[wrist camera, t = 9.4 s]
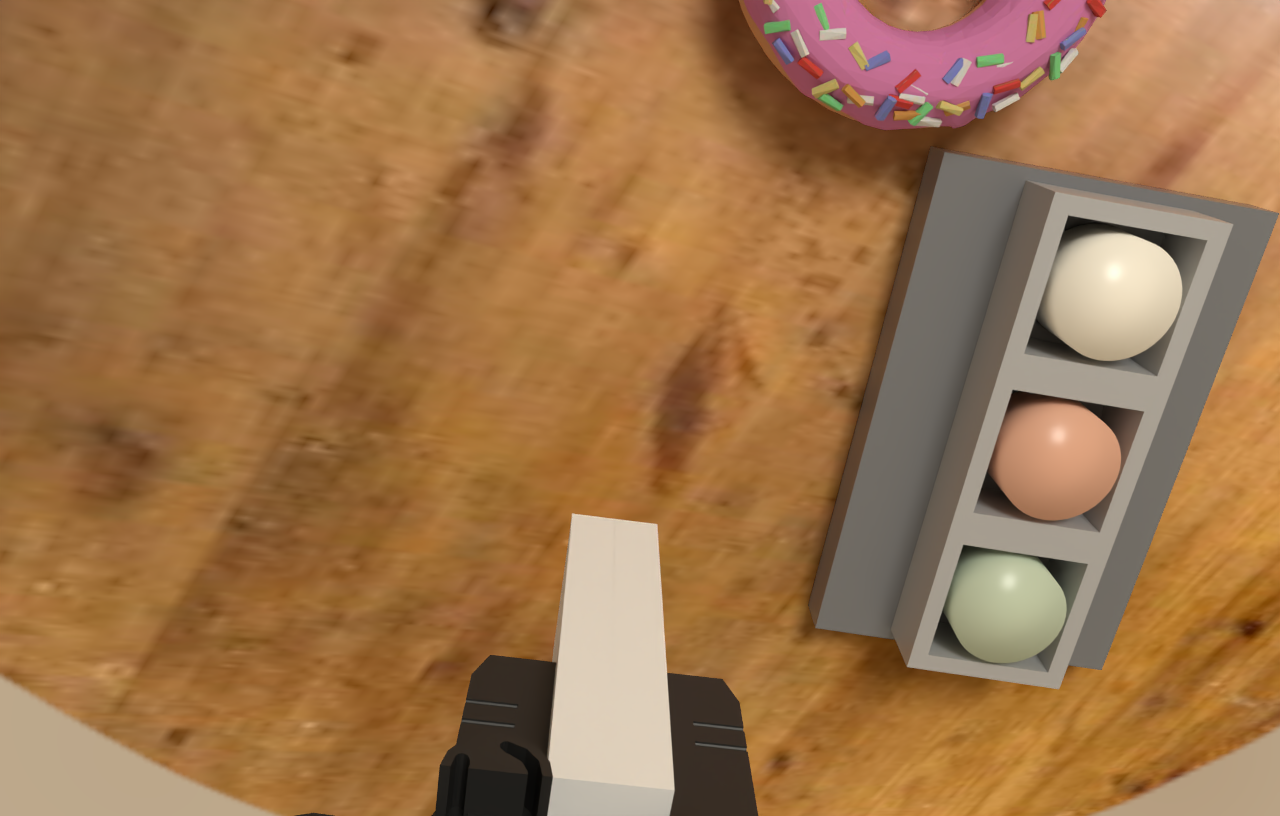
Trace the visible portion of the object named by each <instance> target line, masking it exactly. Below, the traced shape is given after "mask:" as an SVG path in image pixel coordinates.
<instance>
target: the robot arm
mask: <svg viewBox="0 0 1280 816" xmlns="http://www.w3.org/2000/svg"><path fill="white" fill-rule="evenodd" d="M746 748H747V745H746V739H745V733H744V732H743V721H742V715H741V709H740V703H739V701H738V700H737V698H736V697H735V696H734V694H733V693H732V692H731V690H730V689H729V687H728V686H727V685H726V683H725V682H724V681H723V679H717V678H708V677H699V676H690V675H682V674H673V673H667V666H666V651H665V636H664V621H663V605H662V590H661V575H660V560H659V545H658V529H657V524H651V523H643V522H635V521H627V520H619V519H611V518H603V517H595V516H587V515H579V514H572V520H571V527H570V534H569V542H568V549H567V556H566V563H565V570H564V578H563V585H562V592H561V599H560V606H559V614H558V621H557V628H556V635H555V642H554V651H553V661H552V662H548V661H539V660H530V659H521V658H513V657H504V656H495V655H490V656H489V657H488V658H487V659H486V660H485V661H484V662H483V663H482V664H481V665H480V666H479V667H478V668H477V669H476V670H475V671H474V673H473V674H472V675H471V680H470V684H469V689H468V693H467V698H466V703H465V707H464V711H463V716H462V722H461V725H460V729H459V734H458V738H457V743H456V745H455V746H454V747H452V748H451V749H450V750H448V751H447V753H446V755H445V757H444V759H443V760H442V762H441V764H440V770H439V780H438V791H437V801H436V811H435V812H434V813H433V815H432V816H758V812H757V806H756V800H755V794H754V788H753V782H752V775H751V769H750V763H749V757H748V752H746ZM296 816H333V815H325V814H318V813H309V814H303V815H296Z"/></svg>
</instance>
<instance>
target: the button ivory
mask: <svg viewBox="0 0 1280 816" xmlns="http://www.w3.org/2000/svg"><path fill="white" fill-rule="evenodd" d="M1181 299H1182V280H1181V276H1180V272H1179V270H1178V268H1177V265H1176V264H1175V262H1174V260H1173V259H1172V258H1171V256H1170V255H1169V254H1168V253H1167V252H1166V251H1164V250H1163V249H1162V248H1161V247H1159V246H1157V245H1156V244H1153V243H1151V242H1149V241H1146V240H1144V239H1142V238H1139V237H1137V236H1134V235H1132V234H1130V233H1127V232H1125V231H1123V230H1120V229H1118V228H1115V227H1113V226H1109V225H1105V224H1085V225H1080V226H1077V227H1073V228H1071V229H1069V230H1066V231H1064V232H1063V233H1062V237H1061V240H1060V243H1059V246H1058V249H1057V252H1056V255H1055V259H1054V262H1053V265H1052V268H1051V271H1050V274H1049V277H1048V281H1047V284H1046V287H1045V290H1044V293H1043V296H1042V299H1041V302H1040V306H1039V309H1038V312H1037V315H1036V319H1037V321H1038V322H1039V323H1040V324H1041V325H1042V326H1043V327H1044V328H1046V329H1047V330H1048V331H1049V332H1051V333H1052V334H1054V335H1055V336H1056V337H1058V338H1059V339H1060V340H1062V341H1063V342H1064V343H1066V344H1067V345H1069V346H1070V347H1071V348H1073V349H1074V350H1075V351H1077V352H1078V353H1080V354H1082V355H1084V356H1086V357H1089V358H1092V359H1096V360H1103V361H1115V360H1122V359H1126V358H1130V357H1132V356H1135V355H1137V354H1139V353H1141V352H1143V351H1145V350H1147V349H1148V348H1150V347H1151V346H1153V345H1154V344H1155V343H1156V342H1157V341H1158V340H1160V339H1161V338H1162V336H1163V335H1164V334H1165V333H1166V332H1167V331H1168V329H1169V328H1170V327H1171V325H1172V323H1173V322H1174V320H1175V318H1176V315H1177V313H1178V311H1179V307H1180V304H1181Z"/></svg>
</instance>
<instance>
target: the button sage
mask: <svg viewBox="0 0 1280 816" xmlns="http://www.w3.org/2000/svg"><path fill="white" fill-rule="evenodd" d="M1066 611H1067V607H1066V599H1065V596H1064V593H1063V591H1062V589H1061V587H1060V586H1059V584H1058V583H1057V582H1056V580H1055V579H1054V578H1053V576H1052V575H1051V574H1050V572H1049V571H1048V570H1047V569H1046V567H1045V566H1044V565H1043V563H1042V562H1041V561H1040V559H1039V558H1038V557H1037V556H1033V555H1027V554H1020V553H1014V552H1008V551H1001V550H995V549H988V548H982V547H975V546H969V545H963V547H962V550H961V553H960V556H959V560H958V563H957V566H956V569H955V572H954V575H953V578H952V581H951V585H950V588H949V591H948V594H947V597H946V600H945V603H944V607H943V612H944V614H945V615H946V617H947V619H948V621H949V623H950V625H951V627H952V628H953V630H954V632H955V634H956V636H957V638H958V640H959V641H960V643H961V644H962V646H963V647H964V648H965V649H966V650H967V651H968V652H969V653H971V654H972V655H974V656H976V657H978V658H980V659H982V660H985V661H988V662H993V663H1012V662H1018V661H1022V660H1025V659H1027V658H1030V657H1032V656H1034V655H1036V654H1038V653H1039V652H1041V651H1042V650H1044V649H1045V648H1046V647H1047V646H1049V645H1050V644H1051V643H1052V642H1053V641H1054V639H1055V638H1056V637H1057V635H1058V634H1059V632H1060V631H1061V629H1062V626H1063V624H1064V621H1065V618H1066Z"/></svg>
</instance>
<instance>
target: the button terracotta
mask: <svg viewBox="0 0 1280 816" xmlns="http://www.w3.org/2000/svg"><path fill="white" fill-rule="evenodd" d="M1120 465H1121V451H1120V446H1119V443H1118V440H1117V438H1116V436H1115V434H1114V433H1113V431H1112V430H1111V429H1110V428H1109V427H1108V426H1107V425H1106V424H1105V423H1104V422H1103V421H1102V420H1100V419H1099V418H1098V417H1097V416H1096V415H1094V414H1093V413H1092V412H1091V411H1090V410H1089V409H1087V408H1086V407H1085V406H1084V405H1083V404H1081V403H1080V402H1079V401H1078V400H1072V399H1066V398H1060V397H1054V396H1048V395H1042V394H1036V393H1030V392H1024V391H1017V392H1015V393H1013V394H1011V397H1010V400H1009V403H1008V406H1007V409H1006V412H1005V415H1004V418H1003V422H1002V425H1001V428H1000V431H999V434H998V437H997V440H996V444H995V447H994V450H993V453H992V456H991V459H990V462H989V465H988V469H987V472H988V474H989V475H990V476H991V477H992V479H993V480H994V481H995V482H996V484H997V485H998V486H999V487H1000V488H1001V490H1002V491H1003V492H1004V493H1005V495H1006V496H1007V497H1008V498H1009V500H1010V501H1011V502H1012V503H1013V504H1014V505H1015V506H1016V507H1017V508H1018V509H1019V510H1020V511H1022V512H1023V513H1025V514H1027V515H1029V516H1031V517H1034V518H1038V519H1042V520H1063V519H1068V518H1072V517H1075V516H1078V515H1080V514H1082V513H1084V512H1086V511H1088V510H1090V509H1091V508H1093V507H1094V506H1096V505H1097V504H1098V503H1099V502H1100V501H1101V500H1102V499H1103V498H1104V497H1105V496H1106V495H1107V494H1108V493H1109V491H1110V490H1111V488H1112V487H1113V485H1114V483H1115V481H1116V479H1117V477H1118V474H1119V470H1120Z"/></svg>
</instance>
